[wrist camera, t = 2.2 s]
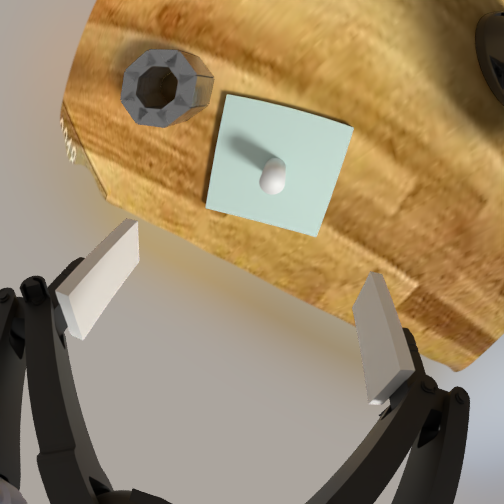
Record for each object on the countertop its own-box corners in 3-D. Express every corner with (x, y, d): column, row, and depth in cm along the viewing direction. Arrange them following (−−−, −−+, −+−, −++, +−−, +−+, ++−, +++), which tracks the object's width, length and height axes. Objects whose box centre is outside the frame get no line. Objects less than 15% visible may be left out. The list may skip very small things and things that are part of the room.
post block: (228, 94, 28) (213, 94, 22) (352, 126, 28) (366, 135, 22) (207, 205, 35) (191, 228, 30) (315, 233, 35) (319, 261, 30)
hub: (154, 53, 26) (128, 49, 21) (218, 58, 26) (202, 52, 21) (144, 115, 30) (118, 122, 25) (205, 124, 30) (187, 131, 25)
